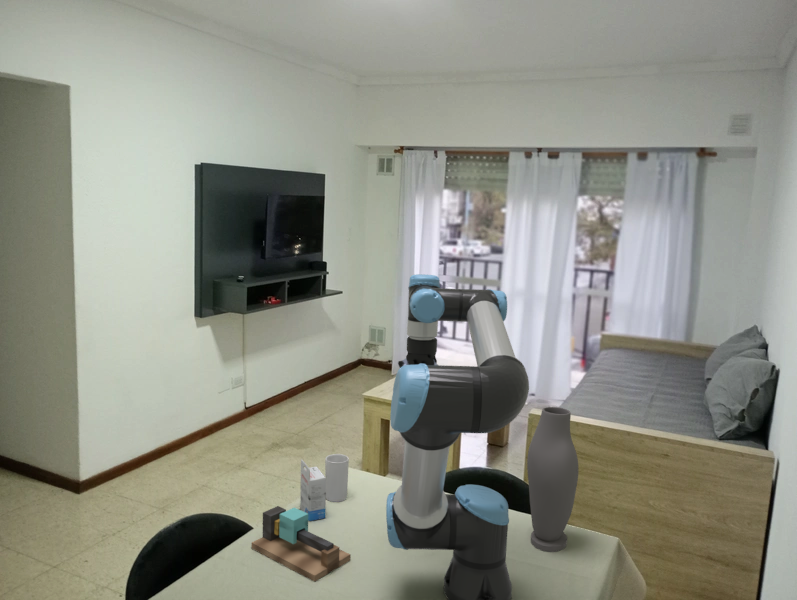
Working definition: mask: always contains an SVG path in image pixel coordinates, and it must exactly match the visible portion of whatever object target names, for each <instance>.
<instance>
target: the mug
mask: <svg viewBox="0 0 797 600" xmlns="http://www.w3.org/2000/svg"><path fill="white" fill-rule="evenodd" d="M349 459H350V458H349V456H347V455H346V454H342V453H334V454H332V453H331V454H328V455H326V457H325V462H324V463H325V468H324V469H325V473H324V476H325V477H326V500H327V501H329V502H333V503H340V502H343V501H345V500H347V498H348V481H349V463H350V462H349Z"/></svg>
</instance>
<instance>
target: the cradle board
mask: <svg viewBox="0 0 797 600" xmlns="http://www.w3.org/2000/svg"><path fill="white" fill-rule="evenodd" d="M285 511H287V509H286V508H284V507H281V506H279V505H277V506H275V507H273V508H270V509H268V510H266V511H263V512H262V536H261V537H259V538H258V539H256V540H254V541H252V542H251V549H252V550H254V551H256V552H258V553H259V554H262V555H263V556H266V557H267V558H269V559H271V560H273V561H274V562H277V563H278V564H280V565H283V566H285V567H286V568H288V569H290V570H292V571H293V572H296V573H298V574H299V575H301V576H303V577H305V578H307V579H309V580H311V582H312V581H313V582H317V581H319V580H320V579H322V578H323V577H325V576H327V575H329V574H330V573H331V572H334V571H336V569H338V568H341V567H342V566H343V565H345V564H347V563H348V562H350V561H351V555H352V554H350V553H348V552H347V551H344V550H341V549H340V546H337V545H335V544H334V543H333V542H331V541H330V540H327V539H325V538H323V537H320V536H319V535H317V534H314V533H312V532H310V531H309V530H308V531H306V530H304V529H301V530H299V531H297V543H295V544H292V543H290V542H288V541H286V540H284V539H282V538H280V537H279V528H280V514H281V513H283V512H285Z"/></svg>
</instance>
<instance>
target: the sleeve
mask: <svg viewBox="0 0 797 600" xmlns="http://www.w3.org/2000/svg"><path fill="white" fill-rule="evenodd" d="M301 529H304V530H306V531H308V532H309V520H308V513H306V512H303V511H302V510H301V509H299V508H297V507H292V508H290V509H288V510H286V511H285V512H283V513H281V514H280V528H279V537H280V538H282V539H284V540H286V541H288V542H290V543H292V544H295V543H297V531H299V530H301Z"/></svg>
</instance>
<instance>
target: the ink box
mask: <svg viewBox="0 0 797 600" xmlns="http://www.w3.org/2000/svg"><path fill="white" fill-rule="evenodd" d="M299 496H300V501H299V503H300V504H299V507H300V509H299V510H301V511H303V512H306V513H308V522H312V521H317V520H323V519H326V511H327V510H326V508H327V507H326V503H327V501H326V500H327V499H326V477H325V474H324V473H322V471H321V470H320V468H318V466H312V467H309V466H308V464H307V463H306V462H305V461H304V460H303V459H302V458H301V459H300V495H299Z"/></svg>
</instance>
